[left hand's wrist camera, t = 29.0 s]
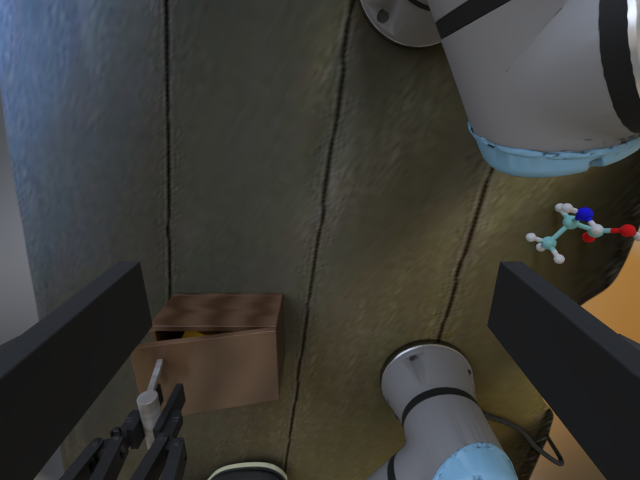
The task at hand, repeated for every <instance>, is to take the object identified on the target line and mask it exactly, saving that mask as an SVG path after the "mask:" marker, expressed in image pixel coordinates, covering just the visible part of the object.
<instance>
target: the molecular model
mask: <svg viewBox="0 0 640 480" xmlns="http://www.w3.org/2000/svg"><path fill="white" fill-rule="evenodd" d="M555 210H556V211H557V212H560V213H561V214H562V216H563V217H564V220H563V227H562V228H561V229H560V230H559V231H558V232H556V233H555V234H554V235H553V236H552V237H549V236H548V237H544V238H543V239H542V238H539V237H536V235H535V234H534V233H528V234H527V235H526V239H527V241H529V242H533V241H537V242H540V243H539V244H537V245H536V249H537V250H538V251H544V250H545V249H547V250H550V251H551V252H552V254H553V255H554V261H555V262H556V263H558V264H560V263H563V262H564V260H565V258H564V256H562V255H559V253H558V252H557V250H556V249H555V246H556V244H557V242H556V239H557V238H558V237H559V236H560V235H561V234H562V233H564V232H565V231H566V230H567V229H574V228H576V227H579V228H582V229H585V230H587V232H585V233H583V235H582V239H583V241H585V242H592V241H594V240H595V238H596V237H600V236H601V235H603V233H620V234H621V235H622V236H625V237H630V236H634V239H635V240H637V241H640V232H636V229H635V227H634V226H632V225H629V224H627V225H623V226H621V228H603V227H602V226H601V225H599V224H596V223H595V222H594V221H593V220H592V217H593V211H592V210H591V209H590V208H586V207H584V208H581V209H576V208H573V206H572V205H571V204H568V203H566V204H562V203H559V204H557V205H556V206H555ZM570 212H571V213H574V214H576V217H575V216H569V215H568V214H567V213H570ZM579 220H581V221H587V223H588V224H589V225H590V226H587V225H584V224H581V223H579Z"/></svg>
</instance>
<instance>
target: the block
mask: <svg viewBox="0 0 640 480" xmlns="http://www.w3.org/2000/svg"><path fill="white" fill-rule="evenodd" d="M213 334H216V331H185V332H184V334H183V337H182V338H189V337H197V336H205V335H213Z"/></svg>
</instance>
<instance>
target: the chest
mask: <svg viewBox="0 0 640 480" xmlns="http://www.w3.org/2000/svg"><path fill="white" fill-rule="evenodd" d="M152 325H153V326H152V327H151V329H150V330H149V332H150V337H151V342H156V341H164V340H172V339H180V338H182V337H183V334H184V332H185V331H216V334H221V333H229V332H238V331H246V330H254V329H262V328H270V327H275V328H276V342H277V363H278V384H279V393H280V386H281V379H282V372H283V365H284V358H285V339H284V313H283V293H174V295H173V296H172V297H171V298H170V299H169V301H168V302H167V303H166V304H165V306H164V307H163V308H162V309H161V311H160V312H159V313H158V315H157V316H156V317H155V318H154V320H153V321H152Z"/></svg>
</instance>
